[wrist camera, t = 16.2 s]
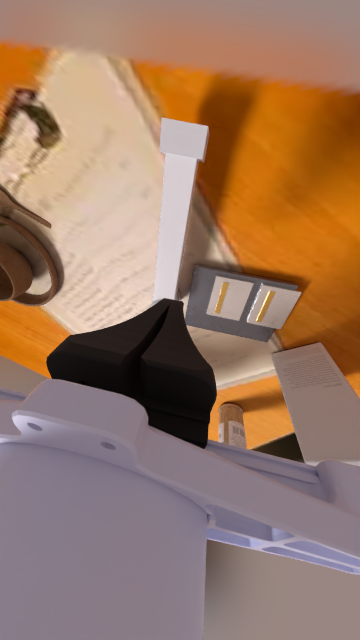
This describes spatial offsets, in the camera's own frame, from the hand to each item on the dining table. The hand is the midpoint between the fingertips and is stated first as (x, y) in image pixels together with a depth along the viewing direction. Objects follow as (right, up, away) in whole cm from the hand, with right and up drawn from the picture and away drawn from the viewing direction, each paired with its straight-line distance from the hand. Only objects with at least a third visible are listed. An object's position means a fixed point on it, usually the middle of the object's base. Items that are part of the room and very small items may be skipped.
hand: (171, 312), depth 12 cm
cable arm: (0, +7, +5) cm, 9 cm away
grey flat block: (+5, +2, +10) cm, 12 cm away
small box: (+18, -7, +14) cm, 24 cm away
